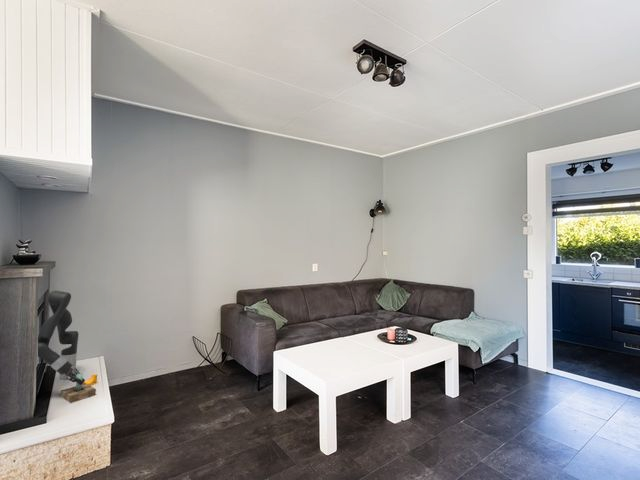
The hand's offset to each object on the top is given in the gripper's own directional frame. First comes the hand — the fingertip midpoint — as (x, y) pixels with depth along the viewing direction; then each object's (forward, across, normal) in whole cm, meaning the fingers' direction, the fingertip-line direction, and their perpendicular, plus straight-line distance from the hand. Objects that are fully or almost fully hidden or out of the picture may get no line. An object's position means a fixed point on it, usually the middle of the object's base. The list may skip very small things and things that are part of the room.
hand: (82, 382), depth 218 cm
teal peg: (+2, 0, +5) cm, 5 cm away
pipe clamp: (+6, +15, +7) cm, 17 cm away
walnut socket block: (+5, 0, +7) cm, 9 cm away
